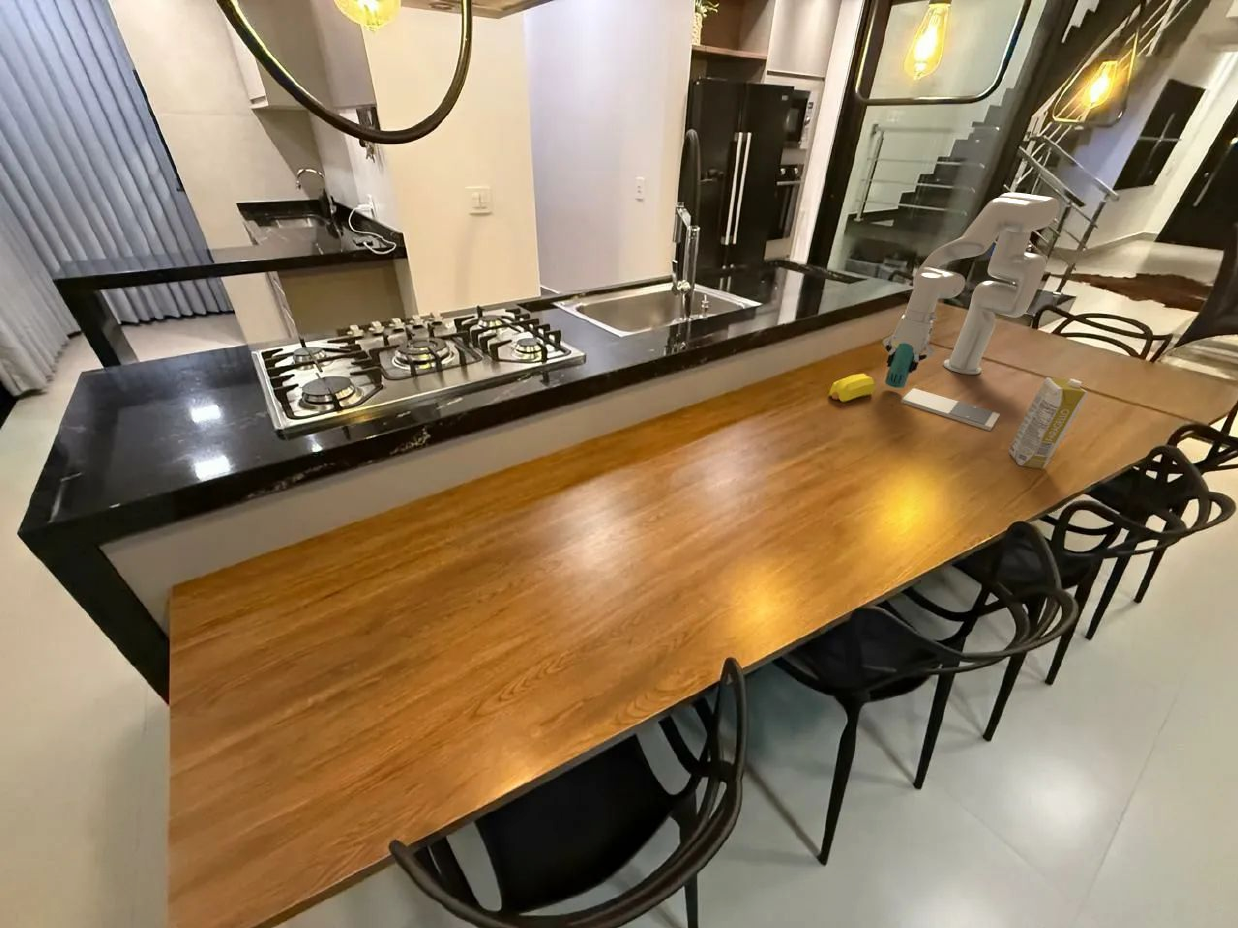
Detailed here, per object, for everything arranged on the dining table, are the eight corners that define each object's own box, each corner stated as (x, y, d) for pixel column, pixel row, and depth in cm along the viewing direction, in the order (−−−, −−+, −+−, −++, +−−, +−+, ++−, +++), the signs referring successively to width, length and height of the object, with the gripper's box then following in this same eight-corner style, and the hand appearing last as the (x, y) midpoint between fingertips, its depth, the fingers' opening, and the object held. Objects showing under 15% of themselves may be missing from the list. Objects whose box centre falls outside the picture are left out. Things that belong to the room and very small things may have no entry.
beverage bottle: (899, 384, 184) (919, 327, 173) (906, 393, 179) (927, 335, 167) (880, 383, 185) (898, 326, 173) (886, 391, 179) (905, 333, 168)
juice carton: (1049, 471, 143) (1096, 389, 130) (1016, 467, 145) (1060, 385, 131) (1033, 453, 151) (1077, 374, 138) (1003, 449, 152) (1043, 370, 139)
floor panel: (912, 391, 183) (913, 387, 182) (998, 417, 169) (1000, 413, 168) (900, 402, 175) (902, 398, 174) (990, 430, 161) (992, 426, 161)
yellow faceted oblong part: (822, 396, 177) (841, 406, 171) (827, 377, 173) (847, 387, 168) (858, 386, 185) (877, 395, 180) (864, 368, 181) (883, 376, 176)
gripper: (951, 319, 165) (931, 373, 175) (894, 306, 175) (877, 358, 185) (945, 324, 161) (924, 380, 171) (886, 311, 170) (869, 364, 180)
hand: (900, 368), depth 177 cm, fingers closed on beverage bottle, 6 cm apart
